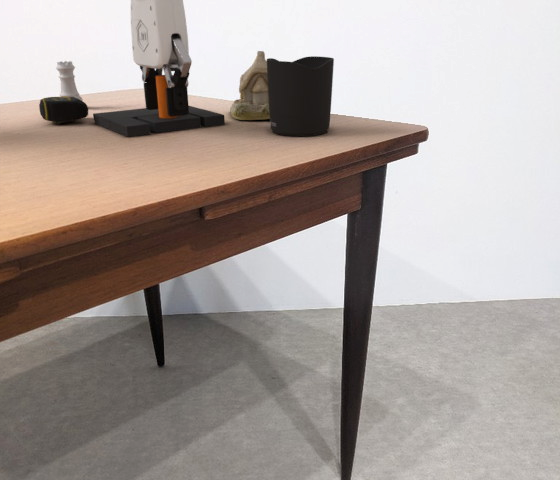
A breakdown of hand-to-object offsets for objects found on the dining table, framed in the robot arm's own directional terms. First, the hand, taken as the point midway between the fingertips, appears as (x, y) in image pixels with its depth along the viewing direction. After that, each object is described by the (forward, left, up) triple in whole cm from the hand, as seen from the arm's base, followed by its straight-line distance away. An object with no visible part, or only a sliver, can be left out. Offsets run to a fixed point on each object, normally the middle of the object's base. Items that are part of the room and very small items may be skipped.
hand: (167, 111), depth 92 cm
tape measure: (-11, +15, -3) cm, 18 cm away
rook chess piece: (-6, +28, -3) cm, 29 cm away
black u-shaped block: (0, +3, -2) cm, 4 cm away
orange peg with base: (0, 0, -2) cm, 2 cm away
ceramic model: (+18, +1, -3) cm, 18 cm away
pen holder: (+14, -15, -3) cm, 21 cm away
